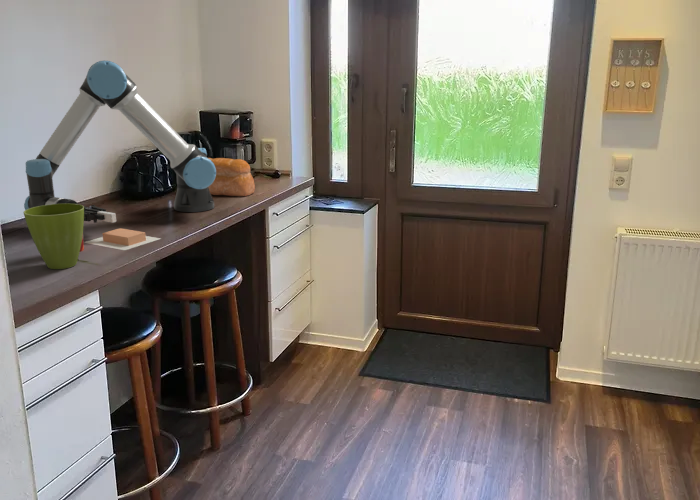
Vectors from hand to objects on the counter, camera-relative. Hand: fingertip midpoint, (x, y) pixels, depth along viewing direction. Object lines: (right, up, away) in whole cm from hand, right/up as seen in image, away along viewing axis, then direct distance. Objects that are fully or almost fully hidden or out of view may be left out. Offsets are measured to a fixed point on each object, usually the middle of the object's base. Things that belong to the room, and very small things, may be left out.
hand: (114, 218), depth 200 cm
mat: (+2, -8, +1) cm, 8 cm away
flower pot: (-6, -14, -22) cm, 27 cm away
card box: (-2, -5, +2) cm, 6 cm away
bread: (+19, +14, +77) cm, 80 cm away
